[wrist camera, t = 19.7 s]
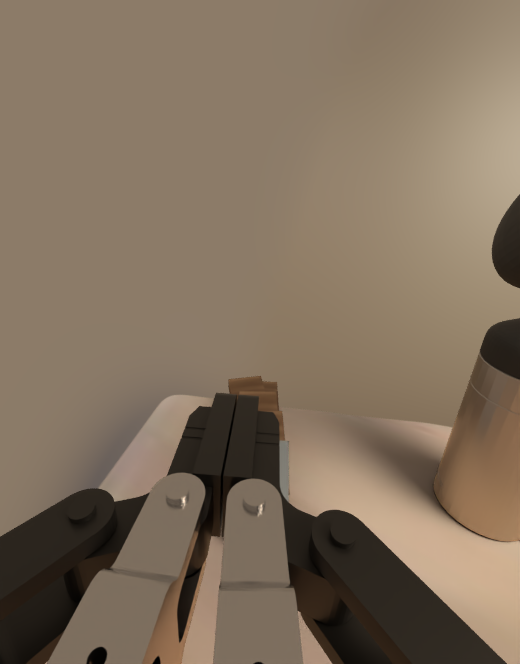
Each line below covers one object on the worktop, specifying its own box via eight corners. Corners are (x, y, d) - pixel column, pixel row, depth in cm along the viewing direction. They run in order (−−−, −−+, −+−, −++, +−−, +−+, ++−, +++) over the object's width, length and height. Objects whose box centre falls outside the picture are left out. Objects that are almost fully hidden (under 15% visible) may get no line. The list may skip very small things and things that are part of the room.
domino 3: (279, 419, 47) (276, 382, 57) (244, 417, 47) (247, 380, 57) (278, 428, 48) (276, 390, 57) (243, 426, 48) (246, 388, 57)
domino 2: (283, 461, 39) (275, 391, 47) (240, 462, 39) (239, 391, 46) (281, 467, 40) (274, 398, 48) (239, 468, 40) (239, 398, 47)
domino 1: (276, 428, 44) (260, 375, 52) (238, 433, 43) (228, 379, 51) (275, 436, 45) (260, 383, 53) (238, 441, 44) (228, 386, 52)
